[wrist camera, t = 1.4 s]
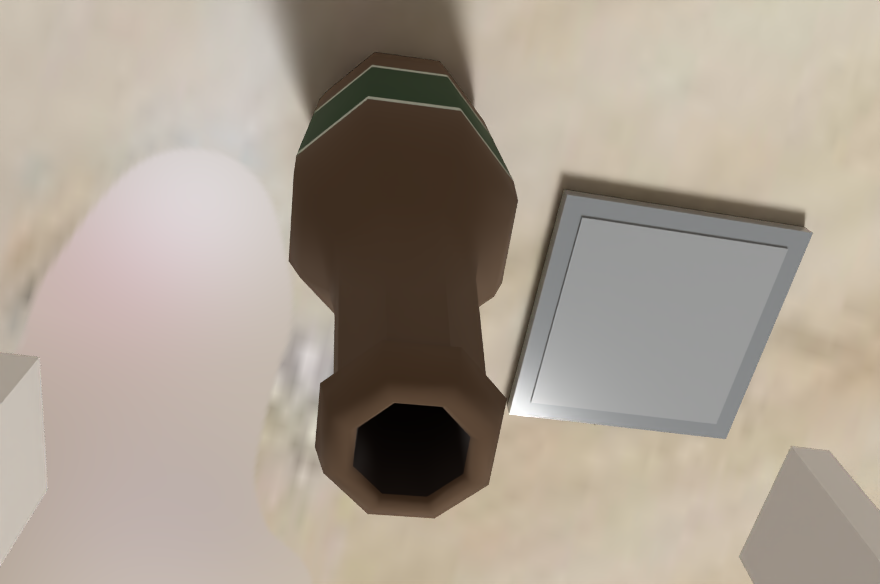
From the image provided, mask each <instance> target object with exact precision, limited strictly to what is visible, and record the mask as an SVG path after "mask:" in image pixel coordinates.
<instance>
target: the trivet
mask: <svg viewBox="0 0 880 584" xmlns="http://www.w3.org/2000/svg"><path fill="white" fill-rule="evenodd" d="M812 234H813V233H812V232H811V231H809V230H808V229H807V228H805V227H800V226H794V225H787V224H781V223H775V222H768V221H762V220H755V219H749V218H743V217H736V216H730V215H724V214H717V213H711V212H705V211H698V210H692V209H685V208H679V207H673V206H666V205H660V204H654V203H647V202H641V201H634V200H628V199H622V198H615V197H609V196H603V195H596V194H590V193H583V192H577V191H571V190H564V191H563V194H562V198H561V202H560V206H559V210H558V214H557V217H556V221H555V225H554V229H553V233H552V237H551V240H550V244H549V248H548V252H547V256H546V259H545V263H544V267H543V271H542V275H541V279H540V282H539V286H538V290H537V294H536V298H535V302H534V305H533V309H532V313H531V317H530V321H529V325H528V328H527V332H526V336H525V340H524V344H523V347H522V351H521V355H520V359H519V363H518V367H517V370H516V374H515V378H514V382H513V386H512V390H511V393H510V397H509V401H508V405H507V407H508V411H509V414H511V415H520V416H528V417H537V418H546V419H555V420H564V421H572V422H581V423H590V424H599V425H607V426H616V427H625V428H634V429H643V430H651V431H660V432H669V433H678V434H687V435H695V436H704V437H713V438H722V439H726V437H727V435H728V433H729V430H730V428H731V426H732V423H733V421H734V418H735V416H736V414H737V411H738V409H739V407H740V404H741V402H742V399H743V397H744V395H745V392H746V390H747V388H748V385H749V383H750V381H751V378H752V376H753V373H754V371H755V369H756V366H757V364H758V362H759V359H760V357H761V355H762V352H763V350H764V347H765V345H766V343H767V340H768V338H769V336H770V333H771V331H772V328H773V326H774V324H775V321H776V319H777V317H778V314H779V312H780V310H781V307H782V305H783V302H784V300H785V298H786V295H787V293H788V291H789V288H790V286H791V284H792V281H793V279H794V276H795V274H796V272H797V269H798V267H799V265H800V262H801V260H802V257H803V255H804V253H805V250H806V248H807V246H808V243H809V241H810V239H811V236H812Z"/></svg>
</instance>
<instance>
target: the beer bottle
mask: <svg viewBox="0 0 880 584" xmlns="http://www.w3.org/2000/svg"><path fill="white" fill-rule="evenodd" d="M517 203H518V199H517V194H516V190H515V186H514V181H513V179H512V177H511V175H510V173H509V171H508V169H507V167H506V165H505V163H504V161H503V159H502V157H501V155H500V153H499V151H498V149H497V147H496V145H495V143H494V141H493V139H492V137H491V135H490V133H489V131H488V129H487V127H486V125H485V122H484V121H483V119H482V118H481V116H480V115H479V114H478V112H477V111H476V110H475V108H474V107H473V105H472V104H471V103H470V101H469V100H468V99H467V97H466V96H465V95H464V93H463V92H462V90H461V89H460V88H459V86H458V85H457V84H456V82H455V81H454V79H453V78H452V77H451V75H450V74H449V73H448V71H447V70H446V69H445V67H444V66H443V65H442V63H441V62H440V61H435V60H428V59H421V58H413V57H406V56H399V55H391V54H384V53H377V52H375V53H373V54H372V55H371V56H370V57H368V58H367V59H366V60H365V61H364V62H362V63H361V64H360V65H359V66H357V67H356V68H355V69H354V70H352V71H351V72H350V73H349V74H348V75H346V76H345V77H344V78H343V79H341V80H340V81H339V82H338V83H337V84H335V85H334V86H333V87H332V88H330V89H329V90H328V91H327V92H325V94H324V95H323V96H322V97H321V99H320V100H319V102H318V105H317V107H316V110H315V112H314V114H313V117H312V119H311V122H310V124H309V127H308V129H307V131H306V134H305V136H304V139H303V141H302V143H301V146H300V148H299V151H298V153H297V155H296V162H295V169H294V179H293V197H292V214H291V231H290V249H289V262H290V264H291V265H292V266H293V268H294V269H295V271H296V272H297V274H298V275H299V277H300V278H301V279H302V280H303V281H304V282H305V283H306V284H307V285H308V286H309V287H310V288H311V289H312V290H313V292H314V293H315V294H316V295H317V296H318V297H319V298H320V299H321V300H322V301H323V302H324V303H325V304H326V305H327V306H328V307H329V308H330V309H331V310H332V312H333V313H334V314H335V330H334V374H333V375H331V376H330V377H329V378H327V379H326V380H324V381H323V382H321V383H320V393H319V405H318V417H317V429H316V441H315V448H316V451H317V454H318V458H319V461H320V464H321V467H322V470H323V473H324V474H325V475H326V476H327V477H328V478H329V479H331V480H332V481H333V482H334V483H335V484H336V485H337V486H338V487H339V488H340V489H341V490H342V491H344V492H345V493H346V494H347V495H348V496H349V497H350V498H351V499H352V500H353V501H354V502H356V503H357V504H358V505H359V506H360V507H361V508H362V509H363V510H364V511H365V512H366V513H367V514H377V515H392V516H407V517H423V518H436V517H437V516H439V515H441V514H442V513H444V512H445V511H447V510H449V509H450V508H452V507H453V506H455V505H457V504H458V503H460V502H461V501H463V500H465V499H466V498H468V497H470V496H471V495H473V494H474V493H476V492H478V491H479V490H481V489H482V488H484V487H486V486H487V485H489V480H490V476H491V471H492V466H493V462H494V457H495V452H496V448H497V443H498V438H499V434H500V429H501V424H502V419H503V415H504V410H505V405H506V401H507V399H506V398H505V396H504V395H503V394H502V393H501V392H500V391H499V390H498V388H497V387H496V386H495V385H494V384H493V383H492V382H491V380H490V379H489V378H488V377H487V376H486V371H485V361H484V352H483V342H482V332H481V322H480V312H479V307H480V306H481V305H482V304H484V303H485V302H487V301H488V300H490V299H491V298H493V297H494V295H495V294H496V292H497V290H498V289H499V287H500V285H501V284H502V280H503V274H504V269H505V264H506V259H507V254H508V249H509V244H510V239H511V233H512V228H513V223H514V218H515V213H516V208H517Z"/></svg>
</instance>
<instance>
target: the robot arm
mask: <svg viewBox="0 0 880 584" xmlns="http://www.w3.org/2000/svg"><path fill="white" fill-rule="evenodd" d="M42 405H43V404H42V387H41V371H40V357H35V356H26V355H18V354H9V353H1V352H0V566H1V565H2V563H3V561H4V560H5V558H6V556H7V555H8V553H9V552H10V550H11V548H12V547H13V545H14V543H15V542H16V540H17V538H18V537H19V535H20V534H21V532H22V531H23V529H24V527H25V526H26V524H27V522H28V521H29V519H30V518H31V516H32V514H33V513H34V511H35V510H36V508H37V506H38V505H39V503H40V501H41V500H42V498H43V497H44V495H45V493H46V492H47V490H48V486H47V468H46V452H45V438H44V437H45V436H44V421H43V406H42ZM739 558H740V560H741V561H742V563H743V565H744V567H745V569H746V571H747V572H748V574H749V576H750V578H751V580H752V581H753V583H754V584H880V511H879V509H878V508H877V507H876V506H875V505H874V503H873V502H872V501H871V500H870V499H869V497H868V496H867V495H866V494H865V493H864V491H863V490H862V489H861V488H860V487H859V485H858V484H857V483H856V482H855V481H854V479H853V478H852V477H851V476H850V475H849V473H848V472H847V471H846V470H845V469H844V467H843V466H842V465H841V464H840V463H839V461H838V460H837V459H836V458H835V457H834V455H833V454H832V453H831V452H830V451H829V450H820V449H812V448H804V447H795V446H791V448H790V450H789V452H788V454H787V456H786V458H785V460H784V462H783V464H782V467H781V469H780V471H779V473H778V475H777V477H776V479H775V481H774V483H773V486H772V488H771V490H770V492H769V494H768V496H767V498H766V500H765V502H764V505H763V507H762V509H761V511H760V513H759V515H758V517H757V519H756V521H755V524H754V526H753V528H752V530H751V532H750V534H749V536H748V538H747V540H746V543H745V545H744V547H743V549H742V551H741V553H740V555H739Z"/></svg>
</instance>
